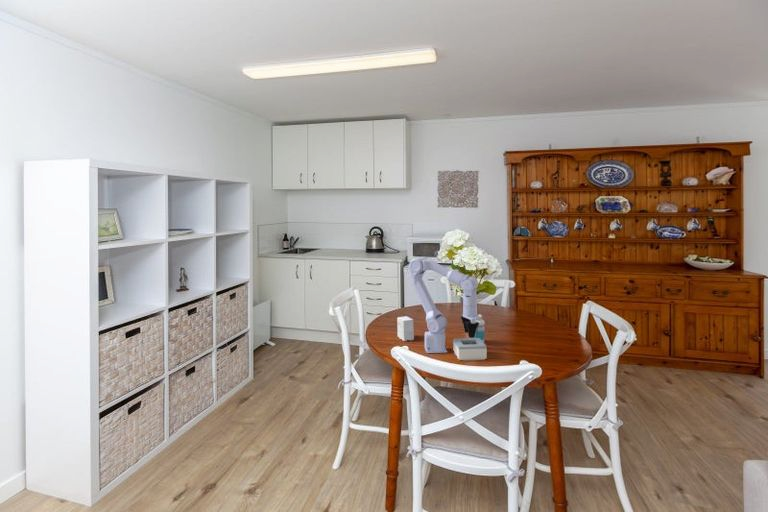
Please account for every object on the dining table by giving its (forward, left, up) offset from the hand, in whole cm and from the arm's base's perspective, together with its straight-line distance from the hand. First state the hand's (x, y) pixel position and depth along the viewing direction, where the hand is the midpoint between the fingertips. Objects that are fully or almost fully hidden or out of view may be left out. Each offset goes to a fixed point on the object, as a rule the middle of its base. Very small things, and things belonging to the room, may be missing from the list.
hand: (469, 334), depth 185 cm
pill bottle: (+8, +18, -10) cm, 22 cm away
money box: (0, 0, -9) cm, 9 cm away
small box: (-26, +27, -10) cm, 39 cm away
